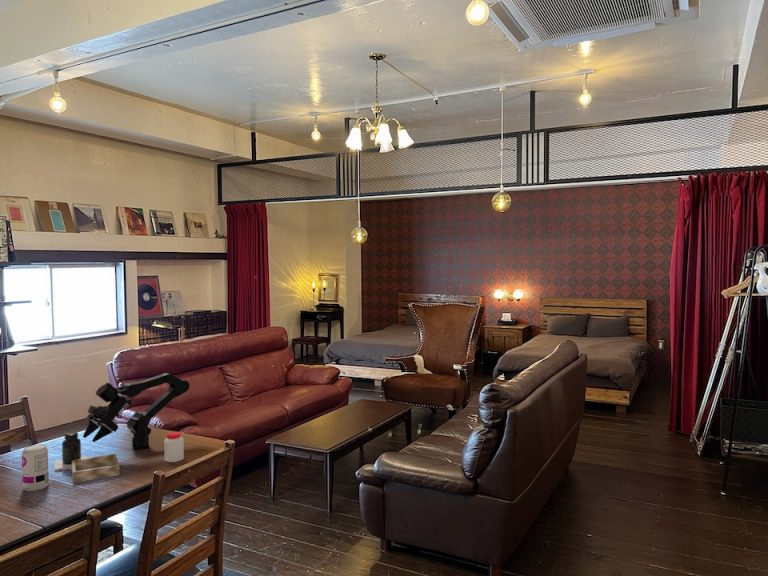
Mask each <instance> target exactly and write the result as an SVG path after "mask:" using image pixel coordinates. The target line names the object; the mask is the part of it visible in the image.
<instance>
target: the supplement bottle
mask: <svg viewBox="0 0 768 576" xmlns="http://www.w3.org/2000/svg"><path fill="white" fill-rule="evenodd" d="M78 437H79V433H78V431H69V432H66V433H65V434H64V437H63V438H64V440H63V441H62V442H61V451H62V452H61V457H62V459H61V460H62V462H63V464H72V460H78V459H81V457H82V442H81V439H80V438H78Z"/></svg>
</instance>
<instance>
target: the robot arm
mask: <svg viewBox="0 0 768 576" xmlns="http://www.w3.org/2000/svg"><path fill="white" fill-rule="evenodd" d="M164 384H167V385H169V386H168V388H167V390H166V391H165V393H163V394H162V395H161V396H160V397H158V399H156V400H155V401H154V402H152V404H151V405H149V406H148V407H147V408H146V409H145V410H144V411H143V412H138V411H136V412H135V413H134V414H133V415H131V416H130V417H129V418H128V420H127V421H126V423H127V424H126V427H127V429H128V430H129V431H130V433H131V434H132V437H131V447H132V449H133V450H134V451H136V450H137V451H138V450H142V449H149V448H150V447H151V446H150V443H149V442H150V437H149V435H151V433H152V428H150V427H149V424H150V422H151V420H152V419H153V418H154V417H155V416H156V415H157V414H158V413H159V412H161V411H162V410H163V409H164V408H165V407H166V406H168V405H169V404H170V403H171V402H172V401H173V400H174V399H176V398H177V397H179V396H182V395H183V394H185V393H187V392H188V391H189V390H190V382H189V381H188V380H185V379H180V378H178V377H176V376H174V375H173V374H172V373H169V372H168V373H167V372H164V373H162V374H158V375H156V376H155V375H154V376H152V377H150V378H147V379H144V380H141V381H140V380H139V381H131V382H130V381H129V382H125V383H122V384H121V386H118V387H114V386H113V385H112V384H111V383H110V382H106V383H105V384H103V385H101V386H100V387H98V389H97V390H96V391H95V396H97V397H98V398H100V399H101V400H102V401H104V402H105V403H108V405H104V406H102V405H98V406H96V405H95V406H94V405H89V408H88V410H87V413H88V415H87V416H86V420H87V421H86V422H87V427H86V429H85V430H84V433H83V435H82V438H84V439H85V438H87V437H89V436H90V435H91V434H93V433H95V432H96V431H97V430H98V431H97V432H96V434H95V435H94V436H93V439H92V440H91V441H92V442H93V443H95V442H97V441H99V440H100V439H102V438H105V437H107V436H108V435H111V434H113V433H116V432H117V431H118V429H119V425H118V424H117V423H116V422H115V421H114V420H115V418H116V417H118V418H119V416H120V414H119V413H120V412H121V411H122V409H124V407H125V406H129V407H130V406H132V399H131V398H134V397H137V396H138V395H140V394H141V393H143V392H144V391H146V390H150V389H152V388H154V387H158V386H160V385H164ZM120 395H121V396H120ZM126 397H128V398H126Z"/></svg>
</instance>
